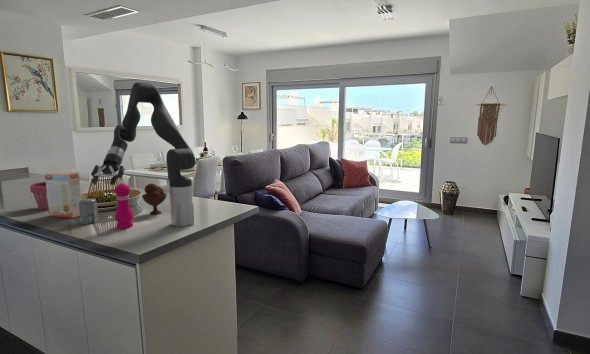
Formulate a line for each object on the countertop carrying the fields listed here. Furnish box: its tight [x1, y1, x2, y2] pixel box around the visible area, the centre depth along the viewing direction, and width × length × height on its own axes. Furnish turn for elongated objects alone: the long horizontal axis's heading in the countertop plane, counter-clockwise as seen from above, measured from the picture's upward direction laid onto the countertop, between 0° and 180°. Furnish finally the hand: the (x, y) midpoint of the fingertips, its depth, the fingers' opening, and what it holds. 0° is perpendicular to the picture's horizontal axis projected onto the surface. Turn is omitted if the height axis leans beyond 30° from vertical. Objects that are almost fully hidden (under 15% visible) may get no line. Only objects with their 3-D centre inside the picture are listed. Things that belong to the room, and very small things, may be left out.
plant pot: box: [29, 181, 49, 211], centre depth 176 cm, size 14×14×13 cm
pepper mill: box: [114, 180, 135, 230], centre depth 145 cm, size 7×7×20 cm
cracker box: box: [44, 171, 82, 219], centre depth 160 cm, size 14×6×21 cm, turn 74°
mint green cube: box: [88, 214, 95, 224], centre depth 152 cm, size 4×4×4 cm
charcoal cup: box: [79, 198, 99, 225], centre depth 151 cm, size 6×6×10 cm
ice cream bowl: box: [141, 183, 168, 216], centre depth 166 cm, size 11×11×15 cm
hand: (102, 184), depth 162 cm, fingers open, 8 cm apart
